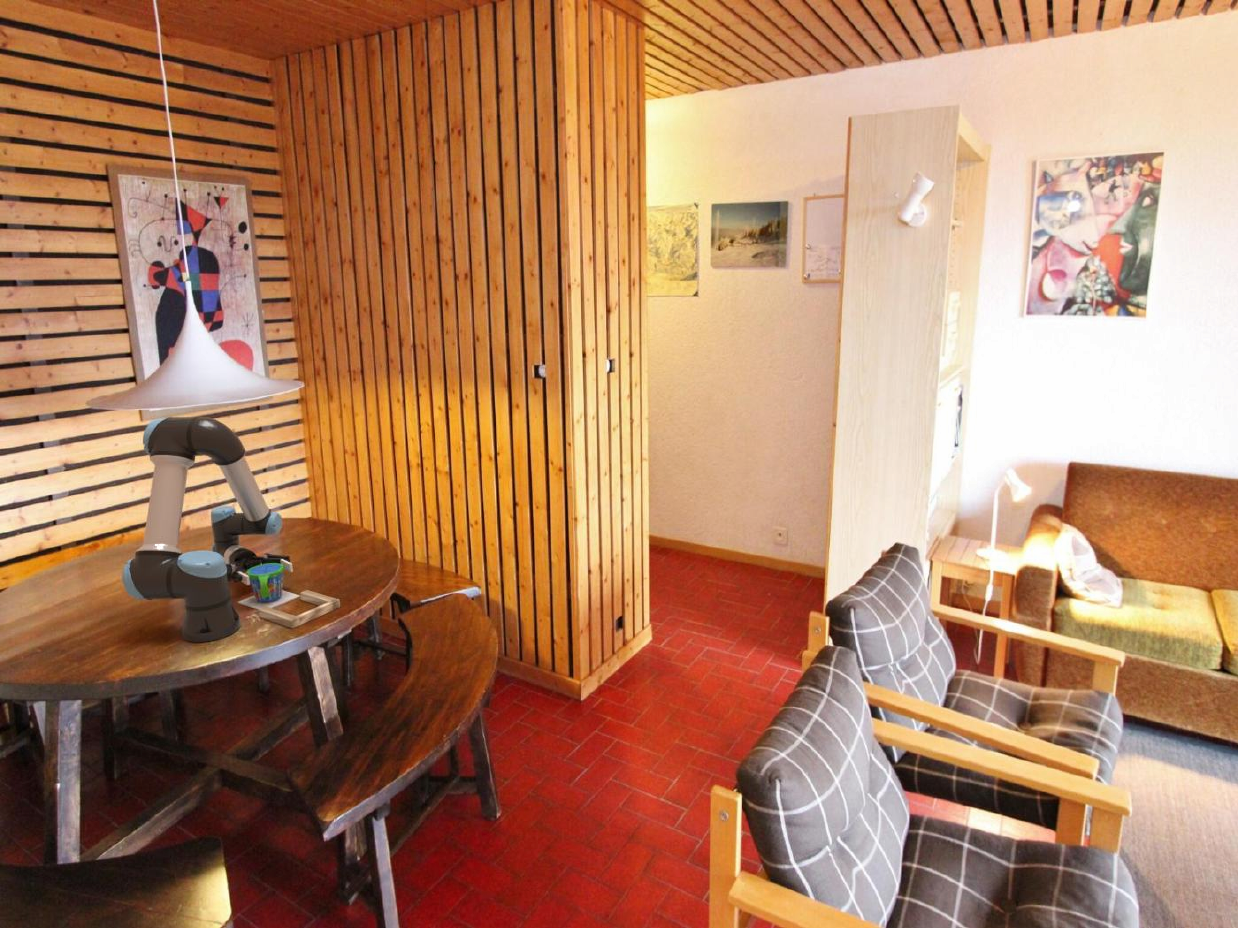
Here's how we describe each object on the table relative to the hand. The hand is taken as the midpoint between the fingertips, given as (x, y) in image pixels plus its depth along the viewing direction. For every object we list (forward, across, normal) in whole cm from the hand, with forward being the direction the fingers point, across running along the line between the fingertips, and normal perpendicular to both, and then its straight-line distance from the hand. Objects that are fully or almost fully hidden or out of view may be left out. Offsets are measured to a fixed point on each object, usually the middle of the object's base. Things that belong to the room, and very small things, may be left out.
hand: (270, 574), depth 235 cm
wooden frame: (+14, -2, -10) cm, 17 cm away
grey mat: (-3, 0, -10) cm, 10 cm away
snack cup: (-3, 0, -9) cm, 10 cm away
